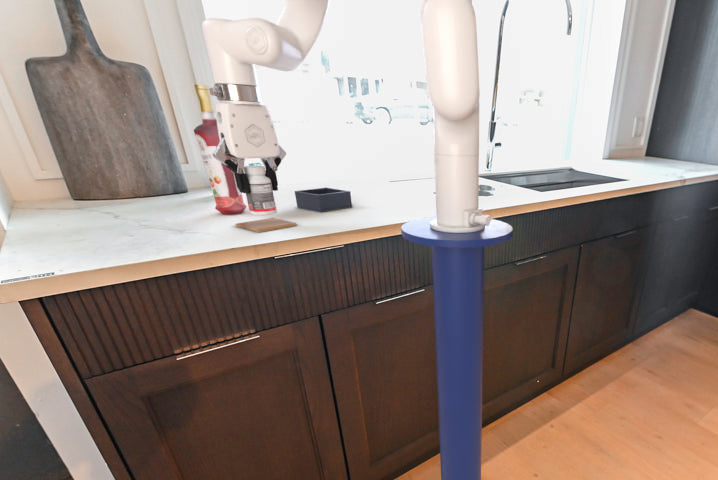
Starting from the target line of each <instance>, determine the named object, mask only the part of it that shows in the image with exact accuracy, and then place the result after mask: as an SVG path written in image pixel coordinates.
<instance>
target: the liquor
mask: <svg viewBox="0 0 718 480" xmlns="http://www.w3.org/2000/svg"><path fill="white" fill-rule="evenodd" d="M193 85H194V90H195V94H196V96H197V98H198V101H199V106H200V113H201V119H202V123H201V124H199V125H197V126H196V127H195V128H194V129H193V133H194V137H195V139H196V140H195V141H196V143H197V146H198V149H199V153H200V155H201V159H202V162H203V165H204V168H205V171H206V173H207V174H206V175H207V178H208V181H209V185H210V188H211V192H212V195H213V198H214V202H215V206H214V207H215V208H214V209H215V210H216V211H218V212H219V213H220V214H222V215H238V214H242V213H243V212H244V211H245V209H246V208H247V207H248V205H246V204H245V203H244V197H243V193H241V192H240V191H239V189H238V187H237V184H236V180H235V175H234V173H233V172H231V170H230V169H229V168H227V167H226V166H225V165H224V164H223V163H221V162H220V161H218V160H217V159H215V158H214V157H213V152H214V151H215V149H216V147H217V146H218V144H219V142H220V139H219V134H218V128H217V118H216V111H215V110H214V107H213V103H212V98H211V97H212V96H211V94H210V91H209V89H210V87H209V85H207V84H193ZM225 157H227V158H228V159H229V160H231V157H228V156H226V155H225Z"/></svg>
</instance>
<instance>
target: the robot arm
mask: <svg viewBox="0 0 718 480" xmlns="http://www.w3.org/2000/svg"><path fill="white" fill-rule="evenodd" d="M330 2H331V0H286V2H285V4H284V7H283V9H282V11H281V13H280V15H279V17H278V18H277V19H276V22H275V23H274V22H271V21H269V20H267V19H264V18H260V17H250V18H242V19H234V20H231V19H225V18H217V17H216V18H207V19H204V20H203V21H202V25H201V29H202V34H203V39H204V43H205V48H206V52H207V56H208V61H209V64H210V69H211V74H212V78H213V82H214V84H213V87H209V91H210V96H213V97H216V99H217V100H218V102H216V103H215V107H216V108H215V115H216V118H217V128H218V134H219V139H220V142H219V144H218V146H217V147H216V149H215V151H214V152H213V157H214V158H215V159H217V160H218V161H220V162H221V163H223V164H224V165H225V166H226V167H227V168H229V169H230V170H231V172H233V173H234V175H235V180H236V184H237V187H238V189H239V191H240V192H241V193H242V194H245V195H246V194H249V193H251V190H250V186H249V181H248V177H247V174H246V173H245V172H244V166H245V160H247V159H260V161H261V162H262V164H263V165H262V166H264V167H265V171H266V172H265V173H266V174H265V176H266V177H268V178H270V180H271V184H272V189H273V192H275V191H277V192H278V191H279V188H278V184H279V183H278V178H277V171H278V167H279V166H280V165H281V163H282V161H283V159H284V158H285V157H286V156H287V152H286V151H285V150H284V149H283V147H282V146H280V145H279V142H278V137H277V133H276V129H275V126H274V123H273V120H272V117H271V114H270V111H269V108H268V106H267V105H265V104H263V102H262V97H261V93H260V87H259V81H258V77H257V71H256V66H261V67H265V68H268V69H273V70H278V71H281V72H291V71H295V70H296V69H298V68H299V67H300V66H301V64H302V63H303V62H304V61H305V60H306V57H307V56H308V55H309V53H310V51H311V50H312V48H313V47H314V45H315V43H316V42H317V40H318V38H319V36H320V33H321V31H322V28H323V25H324V22H325V19H326V17H327V16H326V15H327V13H328V11H329V6H330ZM420 13H421V14H420V29H421V38H422V48H423V61H424V69H425V70H424V71H425V78H426V88H427V95H428V99H429V102H430V104H431V106H432V107H433V148H434V153H433V154H434V155H433V157H434V181H435V182H434V183H435V209H436V211H435V213H436V217H437V219H434V220H432V221H431V222H430V227H431V228H432V229H433V230H436V231H440V232H448V233H470V232H476V231H480V230H483V229H484V228H485V225H486V226H488V225H489V224H490V221H491V219H492V216H491V215H488V214H483V208H482V207H479V179H480V178H479V177H480V176H479V175H480V174H479V172H480V170H479V169H480V103H481V100H480V94H481V93H480V78H479V76H480V75H479V53H478V51H479V50H478V33H477V31H478V30H477V19H476V12H475V8H474V6H473V0H424V1H423V4H422V7H421V12H420ZM255 65H256V66H255ZM225 155H226V156H228V157H231V160H229V159H228V158H227V157H225Z"/></svg>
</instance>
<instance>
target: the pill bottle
mask: <svg viewBox="0 0 718 480" xmlns="http://www.w3.org/2000/svg"><path fill="white" fill-rule="evenodd" d="M265 170H266V169H265V166H264V165H244V173H246V174H247V177H248V181H249V186H250V190H251V193H249V194H246V193H245V196H246V201H247V207H248V210H249V213H250V214H251V215H254V216H268V215H269V216H270V215H275V214H277V212H278V209H277V205H276V199H275V195H274V190H273V189H272V184H271V180H270V178H268V177H266V176H265V174H266V173H265V172H266V171H265Z"/></svg>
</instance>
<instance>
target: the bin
mask: <svg viewBox="0 0 718 480" xmlns="http://www.w3.org/2000/svg"><path fill="white" fill-rule="evenodd" d="M294 196H295V202H296V208H299V209H304V210H307V211H308V210H309V211H313V212H318V213H324V212H325V213H326V212H329V211H336V210H337V211H338V210H343V209H349V208H353V203H352V196H351V191H350V190H345V189H340V188H332V187H331V188H330V187H320V188H319V187H318V188H310V189H301V190H300V189H299V190H294Z"/></svg>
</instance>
